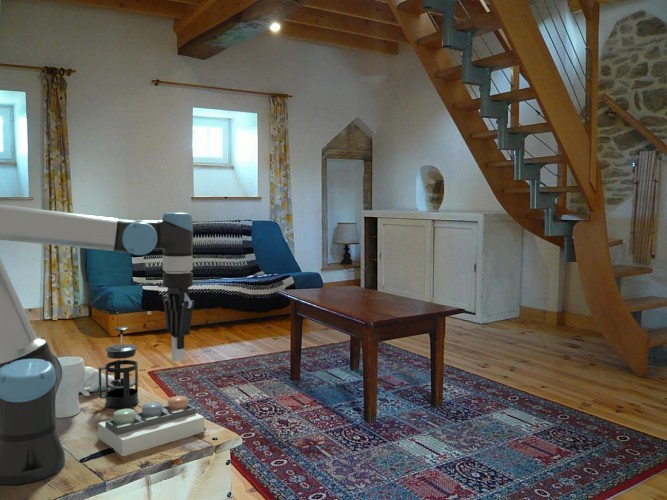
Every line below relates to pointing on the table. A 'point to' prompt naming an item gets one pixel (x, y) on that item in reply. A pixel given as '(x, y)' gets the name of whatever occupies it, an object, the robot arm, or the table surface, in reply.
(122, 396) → the french press
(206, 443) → the table surface
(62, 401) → the cup
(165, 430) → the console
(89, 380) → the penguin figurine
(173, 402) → the button terracotta
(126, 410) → the button sage
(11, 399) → the robot arm
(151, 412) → the button slate
